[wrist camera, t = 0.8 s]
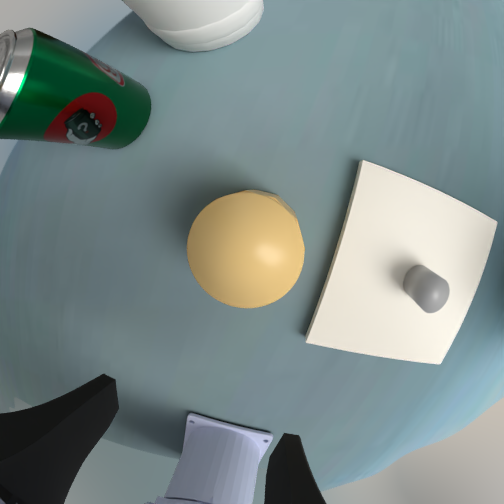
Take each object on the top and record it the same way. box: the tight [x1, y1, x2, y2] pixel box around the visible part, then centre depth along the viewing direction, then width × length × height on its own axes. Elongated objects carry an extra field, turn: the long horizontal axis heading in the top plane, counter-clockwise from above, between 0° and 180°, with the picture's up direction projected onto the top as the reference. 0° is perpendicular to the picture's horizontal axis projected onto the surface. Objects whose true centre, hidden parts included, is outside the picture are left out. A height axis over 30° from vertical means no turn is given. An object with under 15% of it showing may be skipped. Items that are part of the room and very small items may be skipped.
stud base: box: [305, 160, 497, 364], centre depth 14 cm, size 12×12×3 cm
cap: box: [187, 189, 305, 308], centre depth 14 cm, size 5×5×5 cm
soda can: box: [0, 28, 151, 149], centre depth 10 cm, size 5×5×12 cm
